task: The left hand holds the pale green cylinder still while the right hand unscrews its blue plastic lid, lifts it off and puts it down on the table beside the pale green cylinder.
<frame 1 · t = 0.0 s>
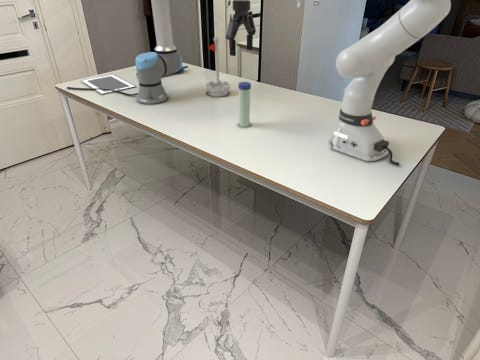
left hand: (241, 52, 154), 28 cm above the table, tool pointing down, fingers open, 13 cm apart
right hand: (308, 6, 134), 48 cm above the table, tool pointing down, fingers open, 8 cm apart
flag stand: (218, 93, 192), on the table
tablet: (108, 84, 206), on the table
pale green cylinder: (244, 124, 155), on the table
submachine gun: (161, 72, 227), on the table
lid: (244, 84, 145), point 19 cm above the table, screwed on, not yet turned
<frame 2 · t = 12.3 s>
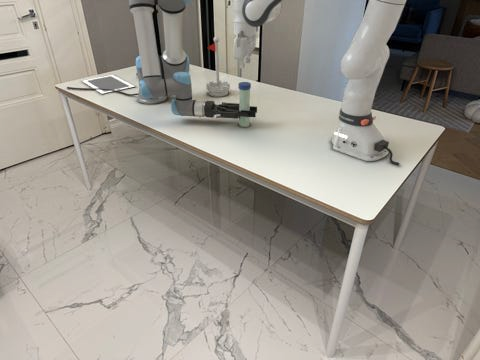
left hand: (256, 112, 151), 7 cm above the table, tool horizontal, fingers closed on pale green cylinder, 5 cm apart
right hand: (244, 65, 141), 27 cm above the table, tool pointing down, fingers open, 7 cm apart
pale green cylinder: (244, 124, 155), on the table, touching left hand
everything else where it was.
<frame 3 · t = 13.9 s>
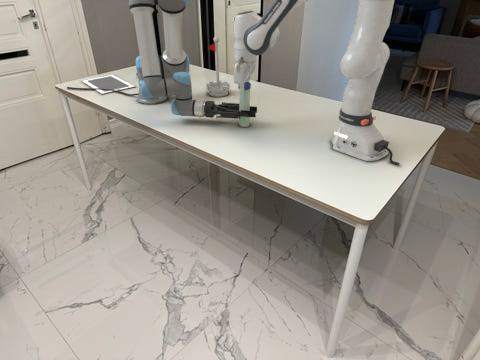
left hand: (256, 112, 151), 7 cm above the table, tool horizontal, fingers closed on pale green cylinder, 5 cm apart
right hand: (244, 88, 146), 17 cm above the table, tool pointing down, fingers closed on lid, 5 cm apart
pale green cylinder: (244, 124, 155), on the table, touching left hand
lid: (244, 84, 145), point 19 cm above the table, screwed on, not yet turned, touching right hand
everything else where it was.
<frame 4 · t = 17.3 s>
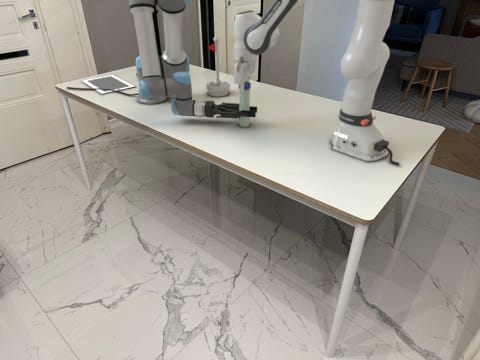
left hand: (256, 112, 151), 7 cm above the table, tool horizontal, fingers closed on pale green cylinder, 5 cm apart
right hand: (244, 88, 146), 17 cm above the table, tool pointing down, fingers closed on lid, 5 cm apart
pale green cylinder: (244, 124, 155), on the table, touching left hand
lid: (244, 84, 145), point 19 cm above the table, turned 94° so far, risen 0.2 cm, still on its thread, touching right hand
everything else where it was.
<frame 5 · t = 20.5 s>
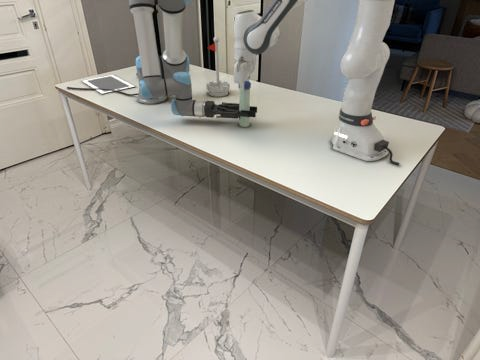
left hand: (256, 111, 151), 7 cm above the table, tool horizontal, fingers closed on pale green cylinder, 5 cm apart
right hand: (244, 87, 146), 17 cm above the table, tool pointing down, fingers closed on lid, 5 cm apart
pale green cylinder: (244, 124, 155), on the table, touching left hand
lid: (244, 83, 145), point 19 cm above the table, turned 187° so far, risen 0.3 cm, still on its thread, touching right hand
everything else where it was.
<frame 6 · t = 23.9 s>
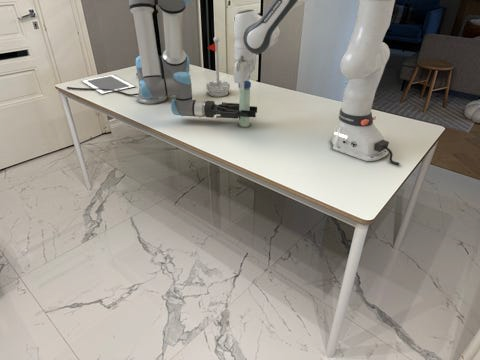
left hand: (256, 111, 151), 7 cm above the table, tool horizontal, fingers closed on pale green cylinder, 5 cm apart
right hand: (244, 87, 146), 17 cm above the table, tool pointing down, fingers closed on lid, 5 cm apart
pale green cylinder: (244, 124, 155), on the table, touching left hand
lid: (244, 83, 145), point 19 cm above the table, turned 280° so far, risen 0.5 cm, still on its thread, touching right hand
everything else where it was.
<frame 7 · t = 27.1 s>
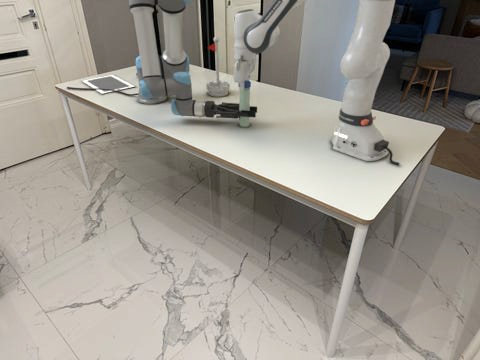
left hand: (256, 111, 151), 7 cm above the table, tool horizontal, fingers closed on pale green cylinder, 5 cm apart
right hand: (244, 86, 146), 18 cm above the table, tool pointing down, fingers closed on lid, 5 cm apart
pale green cylinder: (244, 124, 155), on the table, touching left hand
lid: (244, 83, 145), point 19 cm above the table, turned 374° so far, risen 0.6 cm, still on its thread, touching right hand
everything else where it was.
when the right hand's fingers open (2 cm above the table, at t = 37.3 s): lid drops 2 cm, point 1 cm above the table.
when the left hand's fingers open (7 cm above the table, at t = 38.2 s): pale green cylinder stays where it is, on the table.
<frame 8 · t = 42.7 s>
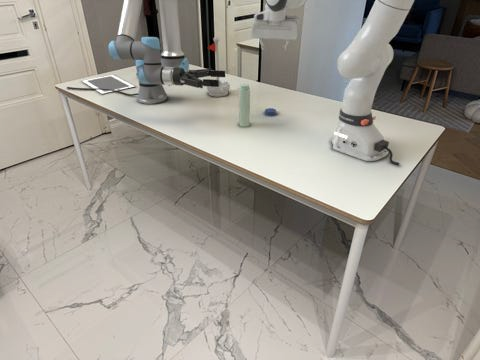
left hand: (222, 78, 145), 21 cm above the table, tool horizontal, fingers open, 13 cm apart
right hand: (273, 49, 150), 30 cm above the table, tool pointing down, fingers open, 8 cm apart
pale green cylinder: (244, 124, 155), on the table
lid: (270, 110, 166), point 1 cm above the table, off its thread
everything else where it was.
at the end: lid came off its thread; lid point 1.5 cm above the table; the left hand is holding nothing; the right hand is holding nothing; pale green cylinder tilted 0°; pale green cylinder moved 0.1 cm from its start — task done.
